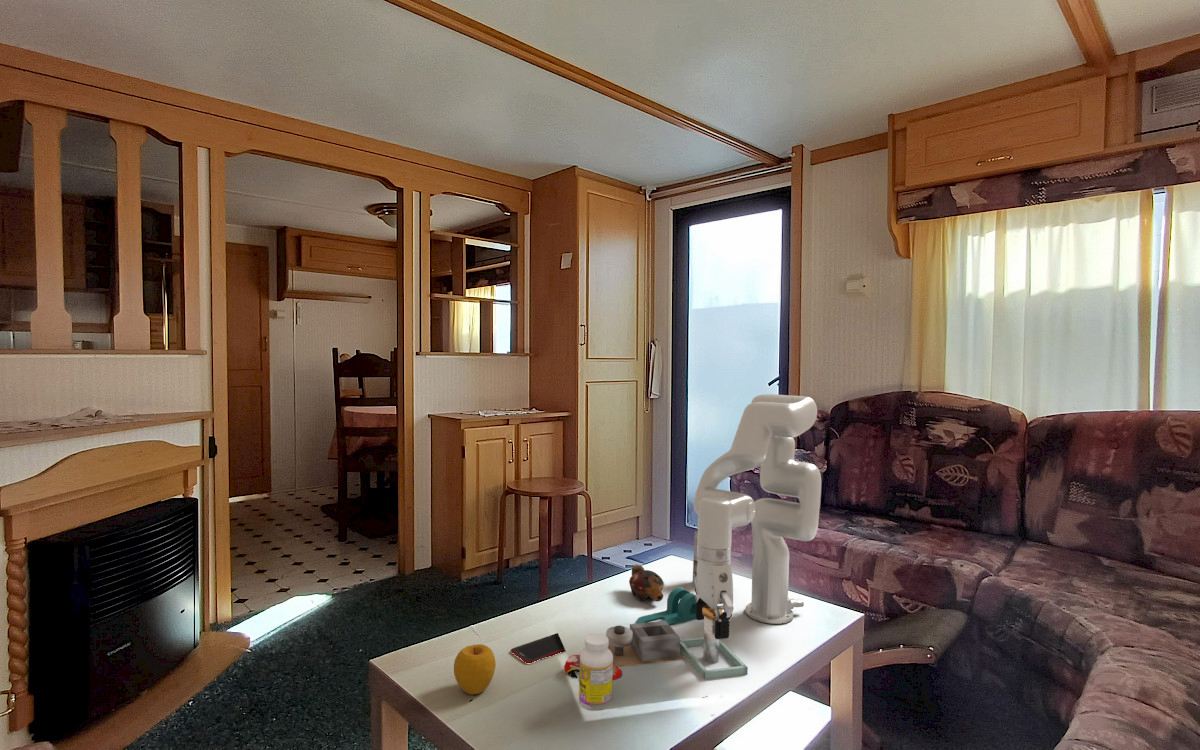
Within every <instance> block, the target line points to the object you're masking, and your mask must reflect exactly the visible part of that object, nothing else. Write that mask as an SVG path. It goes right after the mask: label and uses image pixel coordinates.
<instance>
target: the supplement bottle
mask: <svg viewBox="0 0 1200 750" xmlns="http://www.w3.org/2000/svg"><path fill="white" fill-rule="evenodd" d="M584 646H585V647H584V649H583V650H582V651H581V652H580V654H579V655H580V672H578V673H579V678H578V679H579V680H578V681H579V682H578V684H579V685H578V702H579V703H580V705H581V706H582V707H583V708H585V709H587V710H590V711H592V710H593V709H592V708H591V705H602V704H606V703H608V702H610V701H611V700H612V698H613V680H612V679H613V654H612V652H611V651H610V650H609V649H608V646H609V640H608V637H607V636H606V634H605V635H604V634H602V633H592V634H589V635H587V636H585V639H584ZM601 710H603V708H602V709H599V711H601Z"/></svg>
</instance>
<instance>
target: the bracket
mask: <svg viewBox="0 0 1200 750" xmlns="http://www.w3.org/2000/svg"><path fill="white" fill-rule="evenodd" d="M695 597H696V593H692V592H690V591H689V590H687V589H685V588H683V587H681V586H679V587H678V586H677V587H675V588H673V589H672V590H671V591H670V592H669V594H668V596H667V602H666V610H664V611H660V612H654V613H651V614H648V615H643V616H639V617H638V618H637V619H636V624H637V623H647V622H658V621H666V622H667V623H668V624H669V625H670V626H671V627H672V626H674V625H677V624H682V623H685V622H686V623H687V622H689V621H695V620H697V619H696V599H695Z"/></svg>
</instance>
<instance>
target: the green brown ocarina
mask: <svg viewBox="0 0 1200 750" xmlns="http://www.w3.org/2000/svg"><path fill="white" fill-rule="evenodd" d="M628 582H629V586H630V591H631V593H632V595H633V596H635V597H637V599H638V600H639V601H640V602H644V601H645V600H646V599H647V598H648V597H649V598H650V599H652V600H654V601H655V602H661V601H662V600H663V598H664V593H663V592H662V591H663V590H664V587H665V583H664V580H663V578H662V577H661V576H660V575H659V574H657V573H656V572H654V571H653V570H648V569H645V567H643V566H642V565H640V564H634V565H633V566H632V568H631V576H630V577H629V581H628Z"/></svg>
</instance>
